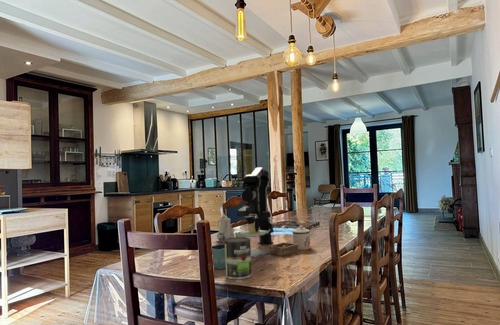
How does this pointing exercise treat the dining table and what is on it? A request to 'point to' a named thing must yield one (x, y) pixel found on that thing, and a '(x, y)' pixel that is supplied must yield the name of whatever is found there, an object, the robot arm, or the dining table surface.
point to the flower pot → (219, 256)
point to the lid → (253, 231)
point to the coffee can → (238, 258)
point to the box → (283, 249)
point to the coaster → (258, 253)
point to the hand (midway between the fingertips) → (254, 231)
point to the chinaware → (226, 229)
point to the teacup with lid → (301, 238)
